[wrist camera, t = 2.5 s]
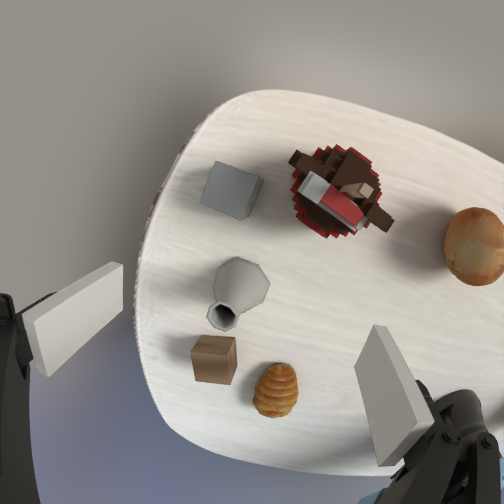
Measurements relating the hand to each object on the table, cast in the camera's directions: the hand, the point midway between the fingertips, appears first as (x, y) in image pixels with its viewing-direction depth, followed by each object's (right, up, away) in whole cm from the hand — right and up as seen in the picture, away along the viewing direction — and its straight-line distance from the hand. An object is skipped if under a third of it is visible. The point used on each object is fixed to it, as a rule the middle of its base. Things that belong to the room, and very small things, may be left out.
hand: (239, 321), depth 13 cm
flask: (-1, -1, +24) cm, 24 cm away
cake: (+10, +11, +19) cm, 24 cm away
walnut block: (-4, -11, +26) cm, 29 cm away
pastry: (+4, -18, +27) cm, 32 cm away
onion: (+29, +5, +17) cm, 34 cm away
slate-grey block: (-1, +11, +21) cm, 24 cm away
